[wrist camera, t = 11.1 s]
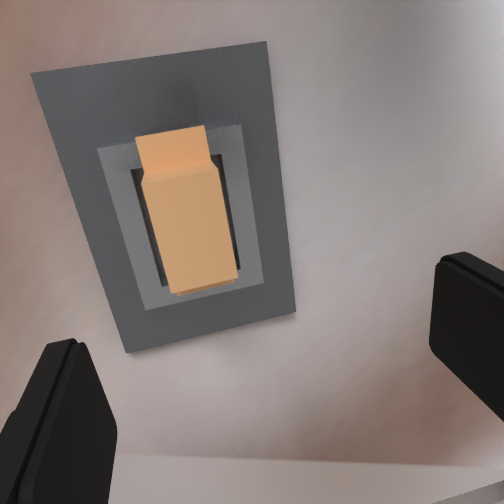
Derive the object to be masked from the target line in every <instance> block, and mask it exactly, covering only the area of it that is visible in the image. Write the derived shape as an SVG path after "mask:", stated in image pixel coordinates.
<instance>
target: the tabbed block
mask: <svg viewBox="0 0 504 504" xmlns="http://www.w3.org/2000/svg"><path fill="white" fill-rule="evenodd" d="M135 140H136V144H137V147H138V151H139V155H140V159H141V162H142V166H143V170H144V175H143V179H142V182H141V186H142V189H143V193H144V196H145V200H146V204H147V207H148V211H149V215H150V218H151V222H152V226H153V229H154V233H155V237H156V240H157V244H158V247H159V251H160V255H161V258H162V262H163V266H164V269H165V273H166V277H167V280H168V284H169V287H170V291H171V294H172V293H177V296H181V295H185V294H190V293H194V292H198V291H202V290H206V289H211V288H215V287H219V286H223V285H227V284H231V283H235V282H234V279H236V278H238V273H237V268H236V263H235V257H234V252H233V247H232V241H231V236H230V231H229V225H228V220H227V215H226V209H225V204H224V199H223V193H222V188H221V183H220V177H219V172H218V168H217V167H216V166H215V165H214V163H213V162H212V161H211V158H210V153H209V148H208V143H207V137H206V132H205V127H204V125H201V126H195V127H190V128H184V129H178V130H173V131H167V132H161V133H156V134H150V135H144V136H139V137H135Z"/></svg>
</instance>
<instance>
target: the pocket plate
mask: <svg viewBox="0 0 504 504" xmlns="http://www.w3.org/2000/svg"><path fill="white" fill-rule="evenodd" d="M30 74H31V77H32V80H33V83H34V86H35V89H36V91H37V94H38V97H39V100H40V103H41V106H42V109H43V112H44V115H45V118H46V121H47V124H48V127H49V129H50V132H51V135H52V138H53V141H54V144H55V147H56V150H57V153H58V156H59V159H60V162H61V165H62V167H63V170H64V173H65V176H66V179H67V182H68V185H69V188H70V191H71V194H72V197H73V200H74V203H75V205H76V208H77V211H78V214H79V217H80V220H81V223H82V226H83V229H84V232H85V235H86V238H87V241H88V243H89V246H90V249H91V252H92V255H93V258H94V261H95V264H96V267H97V270H98V273H99V276H100V279H101V281H102V284H103V287H104V290H105V293H106V296H107V299H108V302H109V305H110V308H111V311H112V314H113V317H114V319H115V322H116V325H117V328H118V331H119V334H120V337H121V340H122V343H123V346H124V349H125V352H126V353H130V352H134V351H138V350H142V349H146V348H151V347H155V346H159V345H163V344H167V343H171V342H175V341H179V340H183V339H187V338H191V337H195V336H200V335H204V334H208V333H212V332H216V331H220V330H224V329H228V328H232V327H236V326H240V325H244V324H248V323H253V322H257V321H261V320H265V319H269V318H273V317H277V316H281V315H285V314H289V313H293V312H296V307H295V298H294V289H293V279H292V270H291V261H290V252H289V243H288V234H287V225H286V215H285V206H284V197H283V188H282V179H281V170H280V160H279V151H278V142H277V133H276V124H275V115H274V106H273V96H272V87H271V78H270V69H269V60H268V51H267V41H265V42H257V43H250V44H242V45H235V46H228V47H220V48H213V49H206V50H198V51H191V52H183V53H176V54H169V55H161V56H154V57H147V58H139V59H132V60H124V61H117V62H110V63H102V64H95V65H87V66H80V67H73V68H65V69H58V70H51V71H43V72H36V73H30ZM201 125H204V127H205V132H206V137H207V143H208V148H209V153H210V158H211V161H212V162H213V163H214V165H215V166H216V167H217V168H218V172H219V177H220V183H221V188H222V193H223V199H224V204H225V209H226V215H227V220H228V225H229V231H230V236H231V241H232V247H233V252H234V257H235V263H236V268H237V273H238V278H236V279H234V282H235V283H231V284H227V285H223V286H219V287H215V288H211V289H206V290H202V291H198V292H194V293H190V294H185V295H181V296H177V293H172V294H171V291H170V287H169V284H168V280H167V277H166V273H165V269H164V266H163V262H162V258H161V255H160V251H159V247H158V244H157V240H156V237H155V233H154V229H153V226H152V222H151V218H150V215H149V211H148V207H147V204H146V200H145V196H144V193H143V189H142V186H141V182H142V179H143V175H144V170H143V166H142V162H141V159H140V155H139V151H138V147H137V144H136V140H135V137H139V136H144V135H150V134H156V133H161V132H167V131H173V130H178V129H184V128H190V127H195V126H201Z"/></svg>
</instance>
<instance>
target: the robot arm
mask: <svg viewBox="0 0 504 504" xmlns="http://www.w3.org/2000/svg"><path fill="white" fill-rule="evenodd" d="M429 345H430V348H431V350H432V352H433V353H434V355H435V356H436V357H437V358H438V359H439V360H440V361H442V362H443V363H444V364H445V365H446V366H447V367H448V368H449V369H450V370H451V371H452V372H453V373H454V374H455V375H456V376H457V377H458V378H459V379H460V380H461V381H462V382H463V383H464V384H465V385H466V386H467V387H468V388H469V389H470V390H471V391H473V392H474V393H475V394H476V395H477V396H478V397H479V398H480V399H481V400H482V401H483V402H484V403H485V404H486V405H487V406H488V407H489V408H490V409H491V410H492V411H493V412H494V413H495V414H496V415H497V416H498V417H499V418H500V419H501V420H502V421H504V271H502V270H500V269H498V268H496V267H495V266H493V265H491V264H489V263H487V262H485V261H483V260H481V259H479V258H477V257H475V256H474V255H472V254H470V253H467V252H459V253H455V254H450V255H446V256H443V257H442V258H441V259H440V262H439V263H437V265H436V268H435V278H434V289H433V300H432V312H431V323H430V334H429ZM116 443H117V426H116V422H115V419H114V416H113V414H112V411H111V408H110V406H109V403H108V400H107V398H106V395H105V393H104V390H103V387H102V385H101V382H100V380H99V377H98V374H97V372H96V369H95V366H94V364H93V361H92V359H91V356H90V353H89V351H88V348H87V346H86V344H85V343H84V342H81V343H78V342H77V341H76V340H75V339H74V338H71V339H67V340H62V341H58V342H53V343H49V344H47V345H46V347H45V349H44V351H43V353H42V355H41V357H40V359H39V361H38V363H37V366H36V368H35V370H34V372H33V374H32V376H31V378H30V380H29V382H28V384H27V387H26V389H25V391H24V393H23V395H22V397H21V399H20V401H19V403H18V405H17V408H16V410H14V411H13V412H12V413H11V414H10V416H9V417H8V419H7V421H6V423H5V425H4V427H3V429H2V431H1V433H0V504H108V499H109V492H110V485H111V478H112V471H113V464H114V457H115V450H116ZM433 504H504V481H501V482H497V483H494V484H491V485H488V486H485V487H482V488H479V489H476V490H473V491H470V492H467V493H464V494H460V495H458V496H454V497H451V498H448V499H445V500H442V501H439V502H436V503H433Z"/></svg>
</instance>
